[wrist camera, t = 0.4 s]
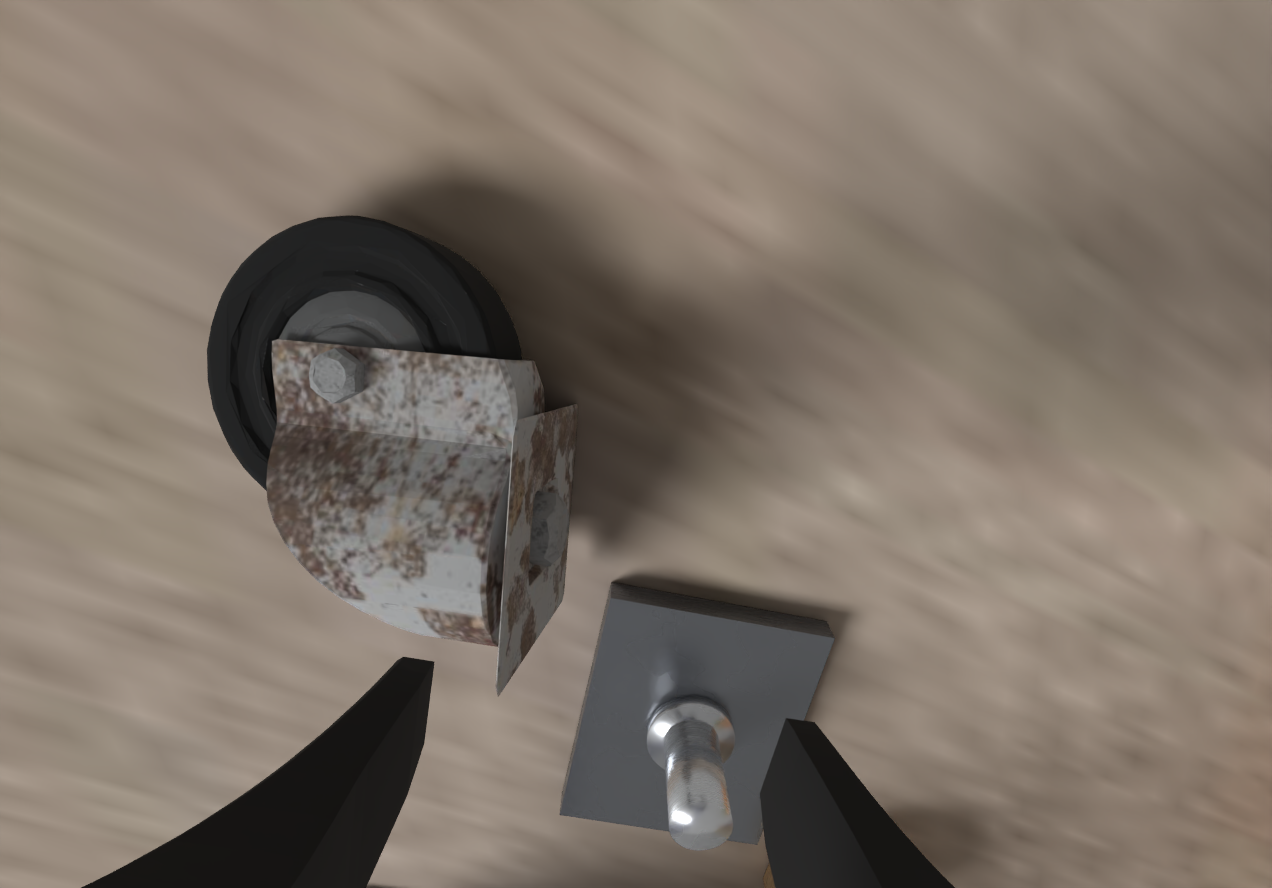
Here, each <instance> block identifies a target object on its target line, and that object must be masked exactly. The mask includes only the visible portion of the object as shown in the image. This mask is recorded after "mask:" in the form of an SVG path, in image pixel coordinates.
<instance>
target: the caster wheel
mask: <svg viewBox="0 0 1272 888" xmlns="http://www.w3.org/2000/svg"><path fill="white" fill-rule="evenodd" d="M207 364H208V383H209V389H210V394H211V399H212V405H213V409H214V412H215V414H216V417H217V419H218V422H219V424H220V426H221V429H222V431H223V434H224V436H225V438H226V440H227V442H228V444H229V446H230V448H231V450H232V452H233V453H234V454H235V456H236V457H237V459H238V460H239V462H240V463H241V464H242V466H243V467H244V468H245V470H246V471H247V472H248V473H249V474H250V475H251V476H252V477H253V478H254V479H255V480H256V481H257V482H258V483H259V484H260V485H261V486H262V487H263V488H264V489H265V490H266V491H267V498H268V505H269V508H270V511H271V515H272V518H273V521H274V524H275V525H276V527H277V529H278V531H279V533H280V535H281V537H282V539H283V541H284V542H285V544H286V545H287V547H288V548H289V549H290V551H291V552H292V553H293V555H294V556H295V557H296V559H297V560H298V561H299V563H300V564H301V565H302V566H303V567H304V568H305V569H306V570H307V571H308V572H309V573H310V574H311V575H312V576H313V577H314V578H315V579H316V580H317V581H318V582H320V583H321V584H322V585H323V586H325V587H326V588H327V589H329V590H330V591H331V592H332V593H334V594H335V595H336V596H338V597H339V598H341V599H342V600H344V601H346V602H347V603H349V604H351V605H352V606H354V607H355V608H357V609H359V610H360V611H362V612H364V613H366V614H368V615H370V616H372V617H374V618H376V619H378V620H380V621H382V622H385V623H387V624H390V625H393V626H395V627H398V628H400V629H403V630H406V631H409V632H413V633H416V634H420V635H424V636H431V637H437V638H444V639H450V640H457V641H464V642H470V643H477V644H483V645H490V646H497V647H498V660H497V675H496V690H497V695H498V696H499V695H500V693H501V692H502V691H503V689H504V688H505V686H506V685H507V683H508V682H509V680H510V679H511V677H512V676H513V674H514V673H515V671H516V670H517V668H518V667H519V665H520V664H521V662H522V661H523V659H524V658H525V656H526V655H527V653H528V652H529V650H530V649H531V647H532V646H533V644H534V643H535V641H536V640H537V638H538V637H539V635H540V634H541V632H542V631H543V629H544V628H545V626H546V625H547V623H548V622H549V620H550V619H551V617H552V616H553V614H554V613H555V611H556V610H557V608H558V607H559V605H560V604H561V602H562V599H563V595H564V586H565V573H566V560H567V547H568V535H569V522H570V509H571V496H572V484H573V471H574V458H575V446H576V433H577V420H578V409H577V404H574V405H571V406H567V407H563V408H560V409H556V410H552V411H549V412H545V397H544V389H543V385H542V382H541V379H540V376H539V373H538V370H537V367H536V364H535V361H534V360H525V359H522V356H521V350H520V346H519V341H518V337H517V334H516V331H515V328H514V326H513V323H512V320H511V318H510V316H509V314H508V312H507V310H506V308H505V307H504V305H503V303H502V301H501V299H500V297H499V296H498V294H497V292H496V291H495V290H494V289H493V287H492V286H491V285H490V284H489V283H488V282H487V280H486V279H485V278H484V277H483V276H482V275H481V273H480V272H479V271H478V270H477V269H475V268H474V267H473V266H472V265H471V264H469V263H468V262H467V261H466V260H465V259H463V258H462V257H461V256H459V255H458V254H456V253H454V252H452V251H451V250H449V249H447V248H446V247H444V246H442V245H440V244H438V243H436V242H434V241H432V240H429V239H427V238H425V237H423V236H421V235H419V234H416V233H413V232H411V231H408V230H405V229H403V228H400V227H398V226H395V225H392V224H390V223H387V222H385V221H380V220H375V219H371V218H366V217H361V216H336V217H324V218H317V219H314V220H310V221H307V222H304V223H301V224H298V225H295V226H292V227H290V228H288V229H286V230H284V231H282V232H280V233H278V234H276V235H275V236H273V237H271V238H270V239H269V240H268V241H266V242H265V243H264V244H263V245H261V246H260V247H259V248H258V249H256V250H255V251H254V252H253V253H252V254H251V255H250V256H249V257H248V258H247V259H246V260H245V261H244V262H243V263H242V264H241V266H240V267H239V268H238V270H237V271H236V273H235V274H234V275H233V277H232V278H231V280H230V281H229V283H228V285H227V287H226V288H225V290H224V292H223V294H222V296H221V299H220V301H219V304H218V307H217V309H216V312H215V316H214V319H213V322H212V326H211V331H210V337H209V342H208V348H207Z"/></svg>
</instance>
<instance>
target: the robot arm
mask: <svg viewBox="0 0 1272 888" xmlns="http://www.w3.org/2000/svg"><path fill="white" fill-rule="evenodd" d="M433 669H434V662H433V661H426V660H420V659H414V658H408V657H402V658H401V659H399V660H397V661H396V662H395V664H394V665H393V666H392V667H391V668H390V669H389V670H388V671H387V672H386V673H385V674H384V675H383V676H382V677H381V678H380V679H379V680H378V682H377V683H376V684H375V685H374V686H373V687H372V688H371V689H370V690H369V691H368V692H366V693H365V694H364V695H363V696H362V697H361V698H360V699H359V700H358V701H357V702H356V703H355V704H354V705H353V706H352V707H351V708H350V709H349V710H347V711H346V712H345V713H344V714H343V715H342V716H341V717H340V718H339V719H338V720H337V721H335V722H334V723H333V724H332V725H331V726H330V727H329V728H328V729H327V730H325V731H324V732H323V733H322V734H321V735H320V736H318V737H317V738H316V739H315V740H314V741H312V742H311V743H310V744H309V745H307V746H306V747H305V748H304V749H303V750H301V751H300V752H299V753H298V754H297V755H295V756H294V757H293V758H292V759H290V760H289V761H288V762H287V763H285V764H284V765H283V766H281V767H280V768H279V769H278V770H276V771H275V772H274V773H272V774H271V775H270V776H268V777H267V778H266V779H264V780H263V781H261V782H260V783H259V784H257V785H256V786H254V787H253V788H252V789H250V790H249V791H247V792H246V793H245V794H243V795H242V796H240V797H239V798H237V799H236V800H234V801H233V802H231V803H230V804H228V805H227V806H225V807H224V808H222V809H221V810H219V811H217V812H216V813H214V814H213V815H211V816H210V817H208V818H207V819H205V820H204V821H202V822H200V823H199V824H197V825H196V826H194V827H192V828H191V829H189V830H187V831H186V832H184V833H183V834H181V835H179V836H177V837H176V838H174V839H172V840H171V841H169V842H167V843H165V844H163V845H162V846H160V847H158V848H156V849H154V850H152V851H151V852H149V853H147V854H145V855H143V856H142V857H140V858H138V859H136V860H134V861H133V862H131V863H129V864H127V865H125V866H124V867H122V868H120V869H118V870H116V871H114V872H112V873H110V874H108V875H106V876H104V877H102V878H100V879H98V880H96V881H94V882H92V883H90V884H88V885H86V886H84V887H81V888H366V886H367V884H368V882H369V880H370V877H371V875H372V873H373V871H374V868H375V866H376V864H377V862H378V860H379V857H380V855H381V853H382V851H383V848H384V846H385V844H386V842H387V840H388V837H389V835H390V833H391V831H392V828H393V826H394V824H395V822H396V819H397V817H398V815H399V813H400V810H401V808H402V806H403V803H404V801H405V799H406V797H407V794H408V791H409V788H410V785H411V782H412V779H413V776H414V773H415V770H416V767H417V764H418V761H419V758H420V755H421V751H422V748H423V745H424V740H425V733H426V725H427V717H428V709H429V701H430V693H431V685H432V677H433ZM760 801H761V811H762V821H763V829H764V836H765V844H766V850H767V854H768V859H769V863H770V867H771V872H772V876H773V880H774V884H775V888H955V887H954V886H953V885H952V884H951V883H950V882H949V881H948V880H947V879H946V878H944V877H943V876H942V875H941V874H940V872H939V871H938V870H937V869H936V868H935V867H934V866H933V865H932V864H931V863H930V862H929V861H928V860H927V859H926V858H925V857H924V855H923V854H922V853H921V852H920V851H919V850H918V849H917V848H916V847H915V845H914V844H913V843H912V842H911V841H910V840H909V839H908V838H907V836H906V835H905V834H904V833H903V832H902V831H901V830H900V829H899V827H898V826H897V825H896V824H895V823H894V821H893V820H892V819H891V818H890V817H889V816H888V814H887V813H886V812H885V811H884V810H883V808H882V807H881V806H880V805H879V804H878V802H877V801H876V800H875V799H874V797H873V796H872V795H871V794H870V792H869V791H868V790H867V789H866V787H865V786H864V785H863V784H862V782H861V781H860V780H859V779H858V777H857V776H856V775H855V773H854V772H853V771H852V770H851V768H850V767H849V766H848V764H847V763H846V762H845V761H844V759H843V758H842V757H841V755H840V754H839V753H838V752H837V750H836V749H835V748H834V746H833V745H832V744H831V742H830V741H829V740H828V739H827V737H826V736H825V735H824V734H823V732H822V731H821V730H820V729H819V727H818V726H817V725H816V724H815V722H809V721H802V720H796V719H790V718H786V719H785V722H784V725H783V728H782V731H781V734H780V736H779V739H778V742H777V745H776V748H775V751H774V754H773V757H772V759H771V762H770V765H769V768H768V771H767V774H766V777H765V780H764V782H763V785H762V788H761V791H760Z"/></svg>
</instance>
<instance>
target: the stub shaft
mask: <svg viewBox="0 0 1272 888" xmlns="http://www.w3.org/2000/svg"><path fill="white" fill-rule="evenodd" d="M834 639H835V638H834V636H833V634H832V631H831V629H830V627H829V625H828V623H827V621H821V620H816V619H810V618H805V617H799V616H794V615H788V614H783V613H777V612H772V611H766V610H761V609H755V608H750V607H744V606H739V605H733V604H728V603H722V602H717V601H711V600H706V599H700V598H695V597H689V596H684V595H678V594H673V593H668V592H662V591H657V590H651V589H646V588H640V587H635V586H629V585H624V584H618V583H613V582H611V586H610V590H609V594H608V599H607V603H606V607H605V611H604V616H603V620H602V624H601V629H600V633H599V637H598V641H597V646H596V650H595V654H594V659H593V663H592V667H591V671H590V676H589V680H588V684H587V689H586V693H585V697H584V701H583V706H582V710H581V714H580V718H579V723H578V727H577V731H576V736H575V740H574V744H573V748H572V753H571V757H570V761H569V766H568V770H567V774H566V778H565V783H564V787H563V791H562V798H561V807H560V815H564V816H571V817H577V818H584V819H591V820H597V821H604V822H610V823H617V824H623V825H630V826H637V827H643V828H650V829H656V830H663V831H669V832H670V835H671V837H672V838H673V840H674V841H675V842H676V843H678V844H679V845H681V846H682V847H684V848H687V849H691V850H708V849H712V848H715V847H717V846H719V845H721V844H722V843H724V842H725V841H726V840H729V841H735V842H742V843H749V844H755V845H757V844H758V841H759V839H760V836H761V833H762V831H763V821H762V811H761V801H760V791H761V788H762V785H763V782H764V780H765V777H766V774H767V771H768V768H769V765H770V762H771V759H772V757H773V754H774V751H775V748H776V745H777V742H778V739H779V736H780V734H781V731H782V728H783V725H784V722H785V719H786V718H790V719H796V720H802V721H804V719H805V716H806V714H807V711H808V708H809V706H810V703H811V700H812V698H813V695H814V692H815V690H816V687H817V684H818V682H819V679H820V676H821V674H822V671H823V668H824V666H825V663H826V660H827V658H828V655H829V652H830V650H831V647H832V644H833V642H834Z"/></svg>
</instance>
